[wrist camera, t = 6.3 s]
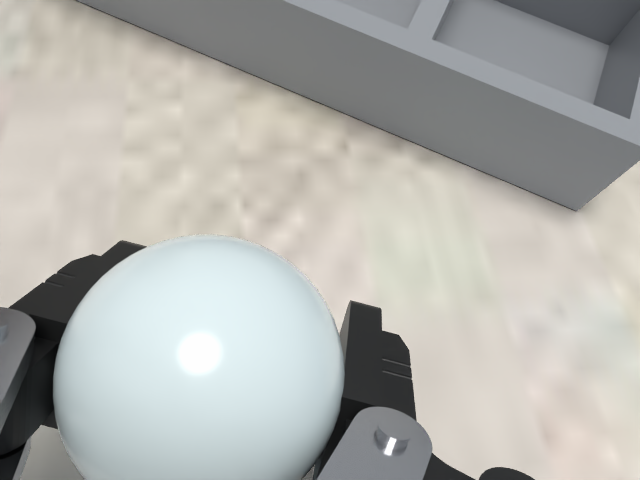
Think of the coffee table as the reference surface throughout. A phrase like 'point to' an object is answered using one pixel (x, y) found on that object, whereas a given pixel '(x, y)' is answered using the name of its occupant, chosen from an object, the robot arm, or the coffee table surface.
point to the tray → (445, 74)
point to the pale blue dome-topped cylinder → (199, 367)
